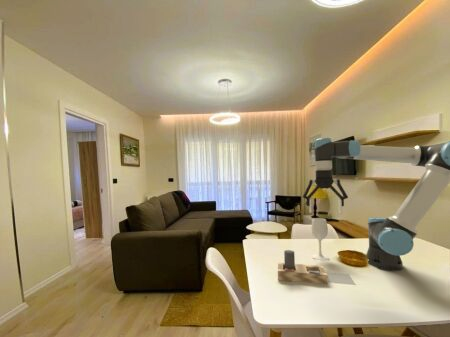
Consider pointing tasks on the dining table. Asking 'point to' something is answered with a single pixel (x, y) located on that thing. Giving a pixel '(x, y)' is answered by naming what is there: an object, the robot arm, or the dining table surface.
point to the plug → (289, 259)
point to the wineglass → (319, 235)
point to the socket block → (302, 273)
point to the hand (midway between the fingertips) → (325, 212)
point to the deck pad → (340, 278)
